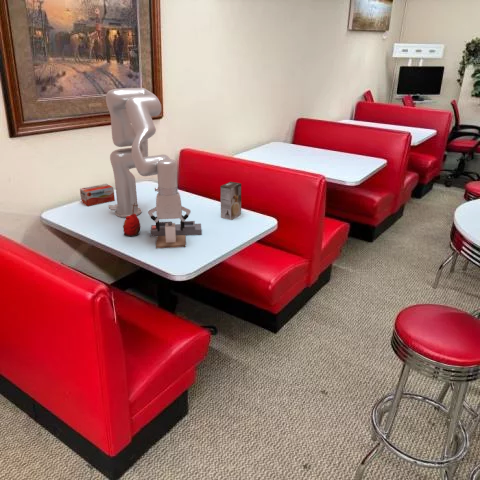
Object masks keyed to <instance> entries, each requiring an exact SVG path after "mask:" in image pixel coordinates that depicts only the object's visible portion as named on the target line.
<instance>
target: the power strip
mask: <svg viewBox="0 0 480 480" xmlns="http://www.w3.org/2000/svg"><path fill="white" fill-rule="evenodd" d="M168 222H169V221H159V223H160V231H159V232H158V229H156V224H151V226H150V233H149V234H150V238H151V237H157V236H166V235H165V224H166V223H168ZM195 222H196V221H195V220H185V221H184V228H183V231H182V230H181V220H180V222H179V223H177V224H176V223H175V228H176V235H185V236H202V224H201V223H195Z"/></svg>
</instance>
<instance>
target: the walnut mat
mask: <svg viewBox="0 0 480 480" xmlns="http://www.w3.org/2000/svg"><path fill="white" fill-rule="evenodd" d="M186 236H187V235H176V242H166V236H156V242H155V249H166V248H167V249H168V248H169V249H170V248H186Z"/></svg>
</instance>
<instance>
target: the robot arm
mask: <svg viewBox="0 0 480 480" xmlns="http://www.w3.org/2000/svg"><path fill="white" fill-rule="evenodd" d="M105 102H106V103H105V104H106V106H107V109H108V111H109V115H110V127H111V138H112V143H113V145H114V146H116V147H118V149H115V150H113V151H112V152H111V153H110V155H109V161H110V164H111V167H112V171H113V179H114V185H115V193H116V204H115V205H108V210H110V211H114V213H115V214H114V215H115V216H116V217H120V218H126V217H127V216H130V215H132V213H133V211H132V210H133V205H134V203H135V205H137V204H138V197H137V196H138V195H137V184H136V177H135V175H134V174H133V173H132V172H131V171H130V170H131V169H132V170H133V169H136V171H137V173H138V174H139V175H140V176H142V177H149V176H156V175H157V187H154V192H156V193H157V194H156V198H155V199H156V200H155V201H156V202H155V207H153V208H151V209H149V210H147V215H148V216H149V218H150V219H151V220H152V221H153V222H154V223H155V225H156V229H158V232H159V231H160V223H159V222H160V220H172V219H173V220H174V219H179V220H180V221H181V230H182V231H183V228H184V221H187V220H188V218H189V216H190V214H191V209H189V208H186V207H184V206H182V199H181V195H180V192H179V191H178V177H177V176H178V172H177V162H176V161H175V160H174V159H172V158H171V157H169V156H168V155H167V154H156V155H149V142H148V141H149V139H150V138H151V137H153V136H154V135H155V134H156V132H157V131H156V130H157V129H156V126H155V124H154V123H155V122H154V121H153V118H152V117H157V116H160V114H161V113H162V104H161V102H160V100H159V98H158V96H156V95H155V94H154V93H153V92H151V91H149V90H148V89H147V88H145V87H126V88H125V87H124V88H123V87H122V88H120V87H119V88H114V89H110V90H108V92H107V93H106V94H105ZM119 147H120V148H119ZM122 147H124V148H122ZM131 204H132V205H131ZM155 212H156V213H155ZM183 212H186V213H185V214H184V215H183ZM153 213H155V214H156V216H155V215H154V214H153ZM134 214H136V216H137V217H138V216H139V215H140V214H142V208H140V207H139V205H138V206H134Z"/></svg>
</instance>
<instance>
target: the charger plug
mask: <svg viewBox="0 0 480 480" xmlns="http://www.w3.org/2000/svg"><path fill="white" fill-rule="evenodd" d="M167 222H168V223H166V224H165V235H166V242H176V228H175V224H176V222H173V221H167Z"/></svg>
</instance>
